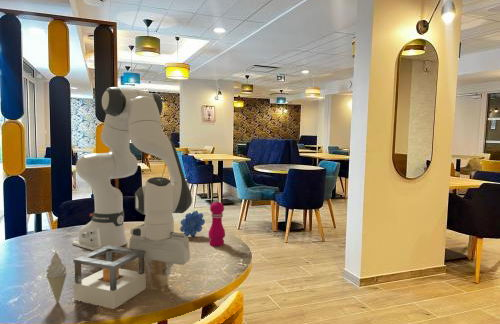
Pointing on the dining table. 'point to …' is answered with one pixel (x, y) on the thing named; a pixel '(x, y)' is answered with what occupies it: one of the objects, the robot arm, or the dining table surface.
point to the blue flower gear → (192, 223)
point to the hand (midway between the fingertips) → (159, 273)
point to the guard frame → (108, 262)
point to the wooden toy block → (158, 274)
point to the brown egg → (107, 274)
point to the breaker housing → (100, 292)
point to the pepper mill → (216, 224)
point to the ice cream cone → (56, 276)
